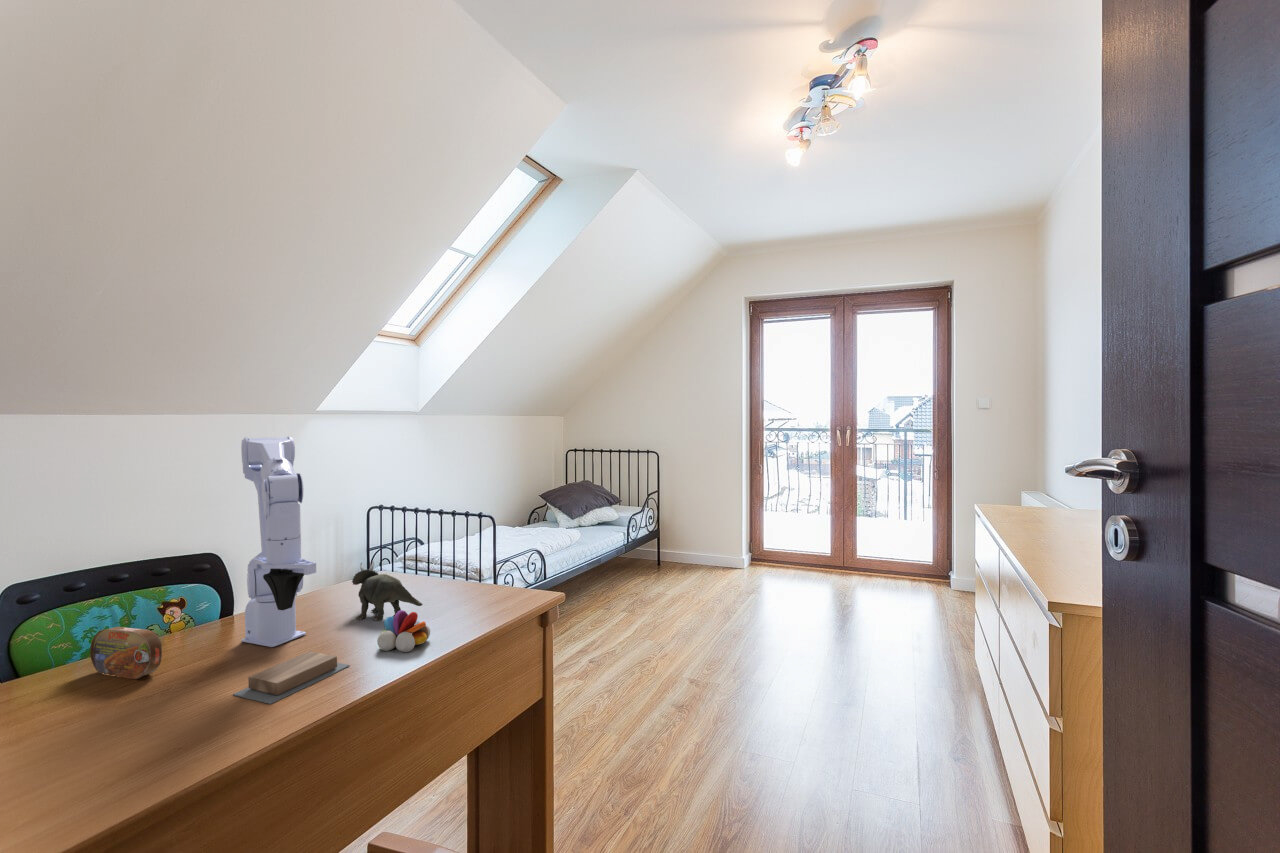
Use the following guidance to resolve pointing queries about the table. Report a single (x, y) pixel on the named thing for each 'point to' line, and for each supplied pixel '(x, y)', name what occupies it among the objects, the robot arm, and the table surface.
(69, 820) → the table surface
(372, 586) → the dinosaur figurine
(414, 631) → the rainbow petal rattle
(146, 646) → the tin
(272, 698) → the felt mat
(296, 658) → the wooden block
